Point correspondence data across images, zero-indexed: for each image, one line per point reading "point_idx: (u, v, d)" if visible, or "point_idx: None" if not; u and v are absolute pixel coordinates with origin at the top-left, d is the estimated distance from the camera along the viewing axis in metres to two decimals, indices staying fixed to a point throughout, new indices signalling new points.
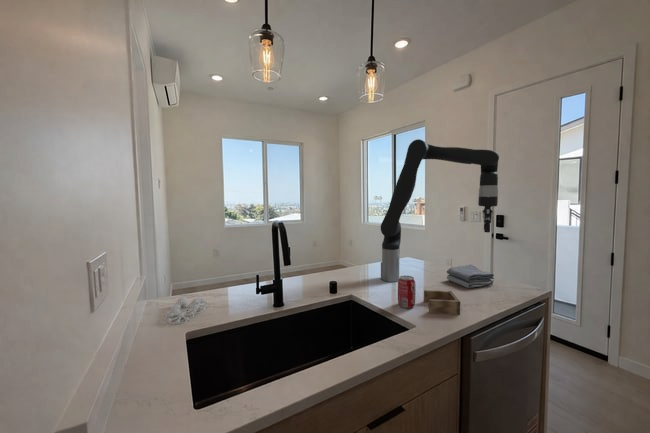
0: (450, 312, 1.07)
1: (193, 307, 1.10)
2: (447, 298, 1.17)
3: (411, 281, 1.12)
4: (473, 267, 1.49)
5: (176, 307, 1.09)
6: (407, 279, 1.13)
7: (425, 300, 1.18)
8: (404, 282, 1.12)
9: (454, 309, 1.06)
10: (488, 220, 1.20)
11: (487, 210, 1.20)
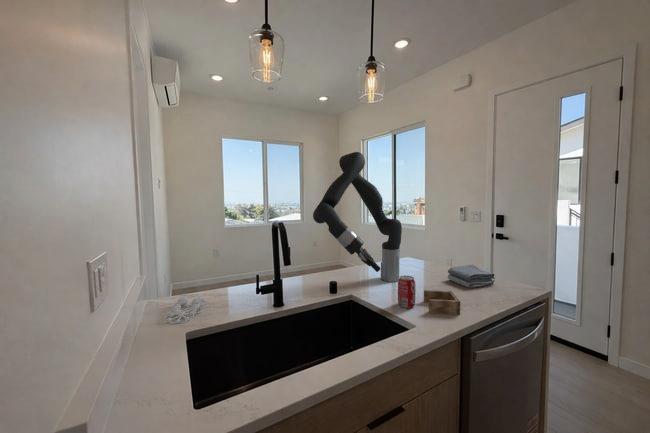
0: (450, 312, 1.07)
1: (193, 307, 1.11)
2: (447, 298, 1.17)
3: (411, 281, 1.12)
4: (474, 267, 1.50)
5: (176, 307, 1.10)
6: (407, 279, 1.13)
7: (425, 300, 1.18)
8: (404, 282, 1.12)
9: (454, 309, 1.06)
10: (370, 263, 1.13)
11: (364, 259, 1.11)
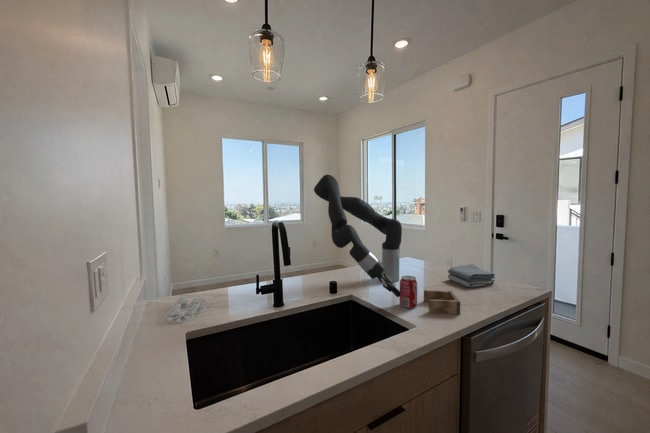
0: (450, 312, 1.07)
1: (193, 306, 1.11)
2: (447, 298, 1.17)
3: (413, 281, 1.12)
4: (474, 267, 1.50)
5: (176, 306, 1.10)
6: (409, 279, 1.12)
7: (425, 300, 1.18)
8: (406, 282, 1.12)
9: (454, 309, 1.06)
10: (392, 288, 1.12)
11: (385, 286, 1.10)
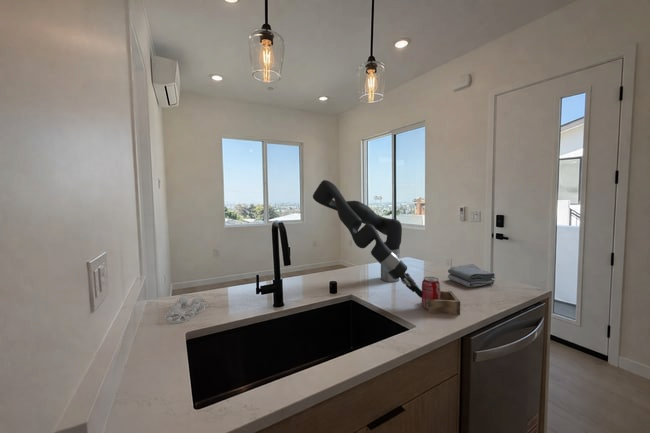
0: (450, 312, 1.07)
1: (193, 306, 1.11)
2: (447, 298, 1.17)
3: (436, 282, 1.10)
4: (474, 266, 1.50)
5: (177, 306, 1.10)
6: (432, 280, 1.11)
7: None
8: (429, 284, 1.10)
9: (454, 309, 1.06)
10: (415, 288, 1.11)
11: (409, 285, 1.08)
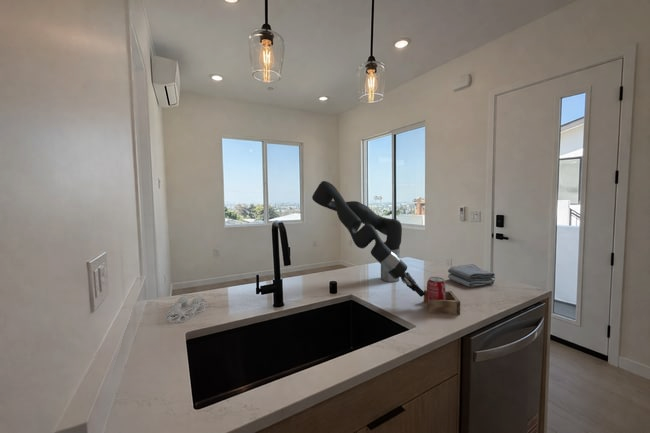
0: (450, 312, 1.07)
1: (193, 306, 1.11)
2: (447, 298, 1.17)
3: (441, 283, 1.09)
4: (474, 266, 1.51)
5: (177, 306, 1.10)
6: (437, 281, 1.10)
7: (425, 300, 1.18)
8: (434, 284, 1.09)
9: (454, 309, 1.06)
10: (415, 288, 1.11)
11: (409, 285, 1.08)
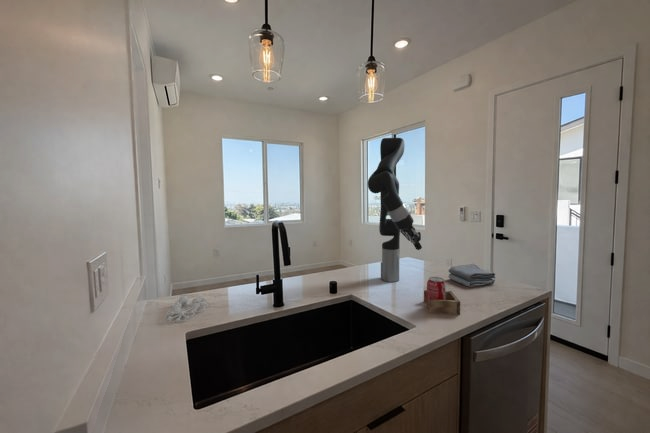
0: (450, 312, 1.07)
1: (194, 306, 1.12)
2: (447, 298, 1.17)
3: (441, 283, 1.09)
4: (475, 266, 1.51)
5: (177, 305, 1.11)
6: (437, 281, 1.10)
7: (425, 300, 1.18)
8: (434, 284, 1.09)
9: (454, 309, 1.06)
10: (418, 240, 1.14)
11: (417, 235, 1.11)
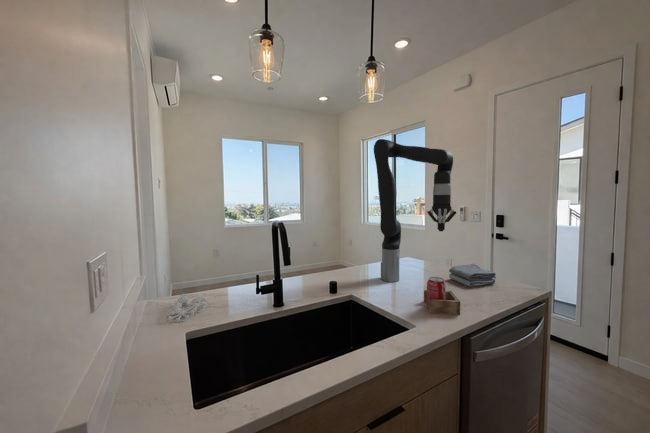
0: (450, 312, 1.07)
1: (194, 305, 1.12)
2: (447, 298, 1.17)
3: (441, 283, 1.09)
4: (475, 266, 1.51)
5: (177, 305, 1.11)
6: (437, 280, 1.10)
7: (425, 300, 1.18)
8: (434, 284, 1.09)
9: (454, 309, 1.06)
10: None
11: None
